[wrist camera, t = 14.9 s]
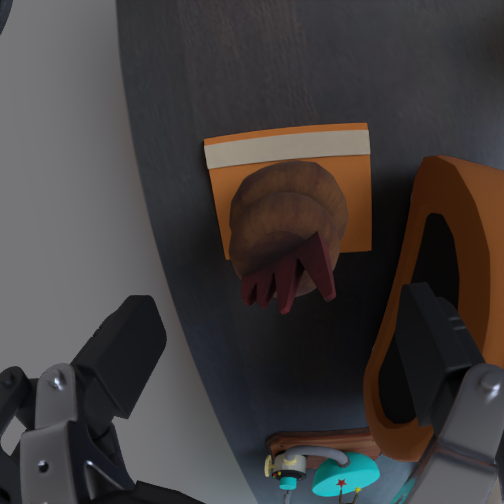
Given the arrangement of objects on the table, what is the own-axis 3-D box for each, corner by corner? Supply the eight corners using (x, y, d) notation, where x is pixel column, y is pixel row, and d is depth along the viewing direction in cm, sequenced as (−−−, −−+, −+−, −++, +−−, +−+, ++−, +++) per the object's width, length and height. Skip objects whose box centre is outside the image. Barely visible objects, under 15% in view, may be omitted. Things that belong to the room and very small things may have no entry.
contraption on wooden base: (261, 422, 36) (242, 521, 22) (394, 415, 32) (406, 514, 19) (272, 462, 42) (259, 538, 28) (377, 457, 38) (381, 534, 24)
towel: (227, 257, 26) (225, 261, 25) (205, 139, 22) (202, 139, 21) (370, 248, 23) (372, 252, 23) (365, 122, 19) (367, 123, 19)
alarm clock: (409, 145, 19) (578, 223, 4) (496, 166, 18) (643, 249, 3) (357, 373, 29) (367, 516, 14) (428, 371, 28) (460, 498, 13)
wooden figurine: (328, 146, 20) (383, 209, 7) (342, 221, 22) (387, 374, 9) (237, 166, 22) (135, 255, 8) (256, 236, 24) (201, 390, 10)
